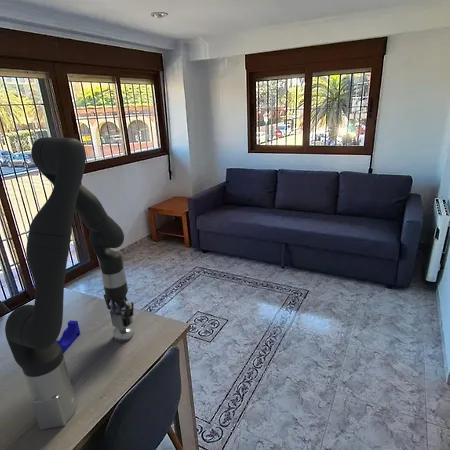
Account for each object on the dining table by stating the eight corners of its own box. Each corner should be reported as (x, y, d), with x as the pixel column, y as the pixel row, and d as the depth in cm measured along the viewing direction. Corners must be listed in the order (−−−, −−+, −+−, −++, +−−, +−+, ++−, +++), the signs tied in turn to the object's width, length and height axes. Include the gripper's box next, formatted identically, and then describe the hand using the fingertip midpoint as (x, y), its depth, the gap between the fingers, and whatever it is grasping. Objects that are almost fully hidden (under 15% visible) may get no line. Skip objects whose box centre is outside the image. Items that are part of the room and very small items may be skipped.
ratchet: (133, 340, 113) (130, 325, 111) (112, 343, 112) (109, 328, 110) (136, 317, 125) (134, 303, 123) (118, 320, 124) (115, 306, 122)
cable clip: (69, 333, 118) (66, 320, 116) (80, 334, 117) (77, 320, 115) (48, 356, 107) (43, 342, 105) (60, 358, 106) (56, 343, 104)
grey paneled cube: (132, 322, 114) (130, 308, 112) (121, 330, 111) (118, 315, 108) (123, 318, 117) (121, 304, 115) (112, 325, 113) (109, 311, 111)
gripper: (137, 282, 107) (143, 324, 113) (111, 271, 115) (118, 311, 120) (118, 292, 101) (126, 336, 107) (92, 280, 109) (101, 321, 115)
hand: (122, 322), depth 114 cm, fingers closed on grey paneled cube, 5 cm apart
